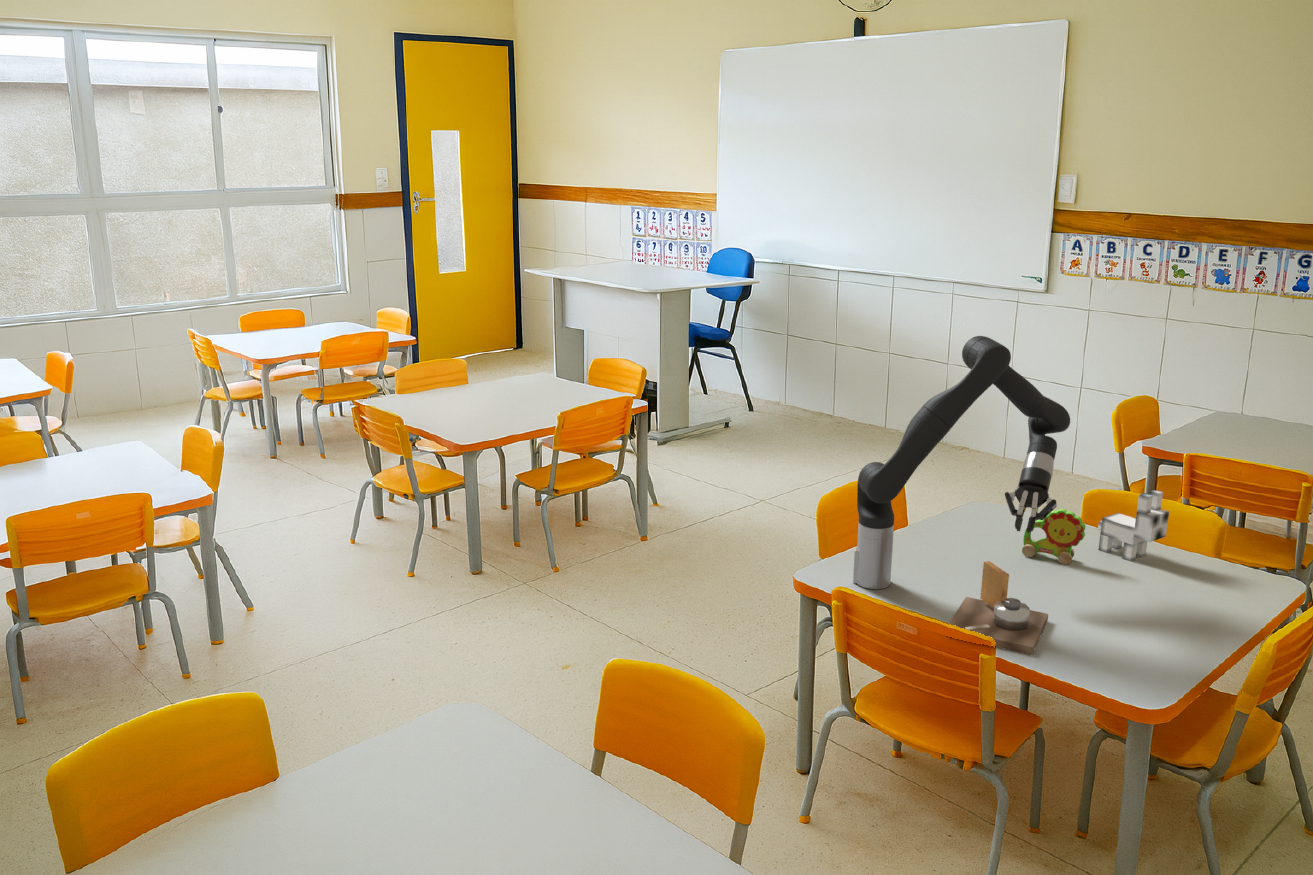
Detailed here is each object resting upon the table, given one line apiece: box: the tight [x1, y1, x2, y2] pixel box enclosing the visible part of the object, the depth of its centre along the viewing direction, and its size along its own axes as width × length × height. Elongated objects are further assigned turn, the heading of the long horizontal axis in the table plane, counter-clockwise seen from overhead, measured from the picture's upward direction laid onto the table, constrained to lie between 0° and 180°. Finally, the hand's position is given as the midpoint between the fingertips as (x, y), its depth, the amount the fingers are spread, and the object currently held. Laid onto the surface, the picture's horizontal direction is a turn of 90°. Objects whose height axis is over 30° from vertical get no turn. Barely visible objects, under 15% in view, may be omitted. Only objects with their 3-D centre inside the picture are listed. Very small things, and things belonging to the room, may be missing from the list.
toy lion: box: [1021, 508, 1086, 565], centre depth 281 cm, size 16×5×15 cm, turn 58°
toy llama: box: [1097, 489, 1170, 562], centre depth 283 cm, size 8×18×20 cm, turn 33°
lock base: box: [948, 596, 1049, 656], centre depth 241 cm, size 20×20×2 cm
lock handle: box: [980, 560, 1031, 630], centre depth 242 cm, size 16×8×11 cm, turn 15°
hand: (1023, 530), depth 255 cm, fingers closed
